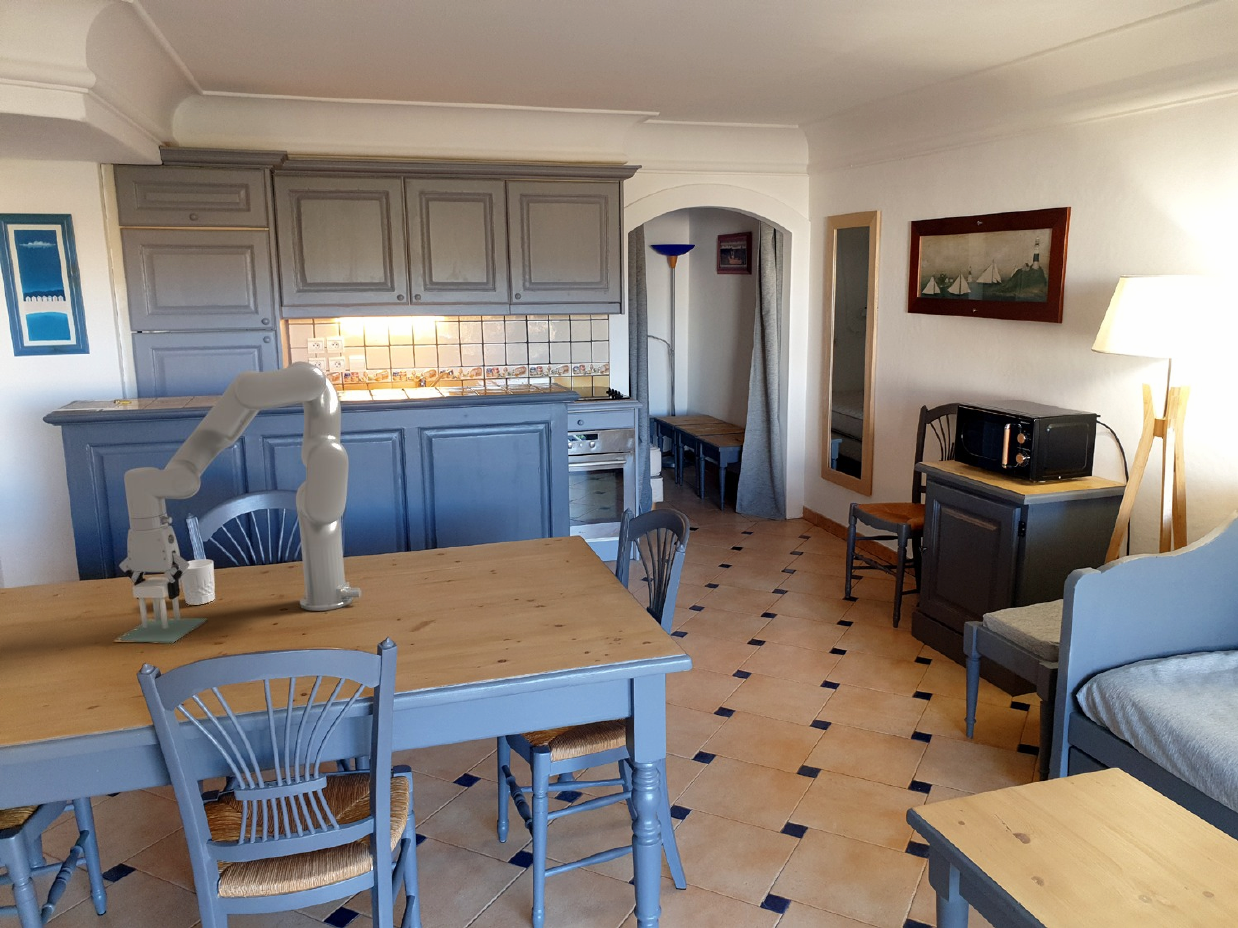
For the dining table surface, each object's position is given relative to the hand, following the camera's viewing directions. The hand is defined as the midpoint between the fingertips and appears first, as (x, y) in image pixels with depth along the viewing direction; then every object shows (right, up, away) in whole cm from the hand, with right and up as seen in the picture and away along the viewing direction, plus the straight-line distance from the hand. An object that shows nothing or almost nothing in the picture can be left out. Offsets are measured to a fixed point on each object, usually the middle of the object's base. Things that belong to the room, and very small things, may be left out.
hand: (158, 596), depth 206 cm
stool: (0, -6, +1) cm, 6 cm away
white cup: (0, -5, +21) cm, 22 cm away
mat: (0, -8, +1) cm, 8 cm away
